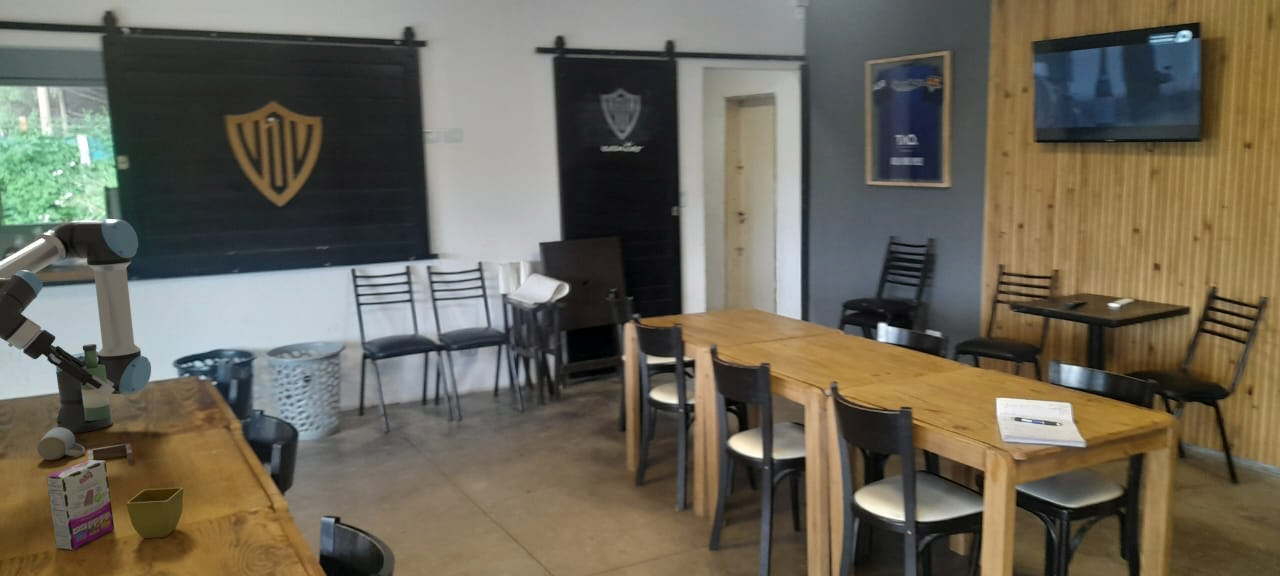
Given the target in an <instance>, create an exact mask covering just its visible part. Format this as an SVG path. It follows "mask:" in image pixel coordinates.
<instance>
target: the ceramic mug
mask: <svg viewBox="0 0 1280 576" xmlns="http://www.w3.org/2000/svg"><path fill="white" fill-rule="evenodd" d="M36 448H37V453H38V455H39V456H40V457H41V458H42V459H44V460H47V461H57V460H60V459H61V458H63V457H64V456H65V455H66V456H70V457H81V456H82V455H84V452H85V450H86V449H85V447H84V446H83V445H81V444H79V443H77V442H76V437H75V435H74V433H72V432H71V431H70V430H68V429H66V428H62V427H57V428H56V427H54V428H51V429H50V430H48V431H47V433H46V434H45V435H43V437H42V438H41V439H40V441H39V442H38V445H37V447H36ZM72 449H75V450H78V451H74V450H72Z"/></svg>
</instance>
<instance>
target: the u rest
mask: <svg viewBox="0 0 1280 576" xmlns="http://www.w3.org/2000/svg"><path fill="white" fill-rule="evenodd" d="M123 456H126V458H127V463H128V465H131V464H134V458H133V457H134V456H133V449H132V445H131V443H130V442H127V443H122V444H115V445H108V446H102V447H98V448H97V447H96V448H91V449H87V460H105V459H106V460H107V459H113V458H116V457H123Z"/></svg>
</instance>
